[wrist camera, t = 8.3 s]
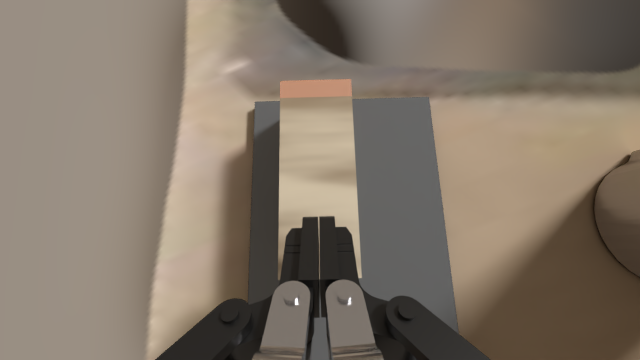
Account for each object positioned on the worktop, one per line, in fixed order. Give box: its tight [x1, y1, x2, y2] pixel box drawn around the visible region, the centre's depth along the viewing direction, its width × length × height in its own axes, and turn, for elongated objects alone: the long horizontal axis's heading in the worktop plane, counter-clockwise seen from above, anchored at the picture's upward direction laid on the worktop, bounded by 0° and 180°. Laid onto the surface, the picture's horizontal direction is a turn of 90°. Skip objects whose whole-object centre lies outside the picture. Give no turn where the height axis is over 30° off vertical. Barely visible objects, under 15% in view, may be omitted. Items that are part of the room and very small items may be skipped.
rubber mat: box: [248, 97, 459, 360], centre depth 20 cm, size 24×14×1 cm, turn 1°
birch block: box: [278, 79, 362, 280], centre depth 18 cm, size 4×4×12 cm
